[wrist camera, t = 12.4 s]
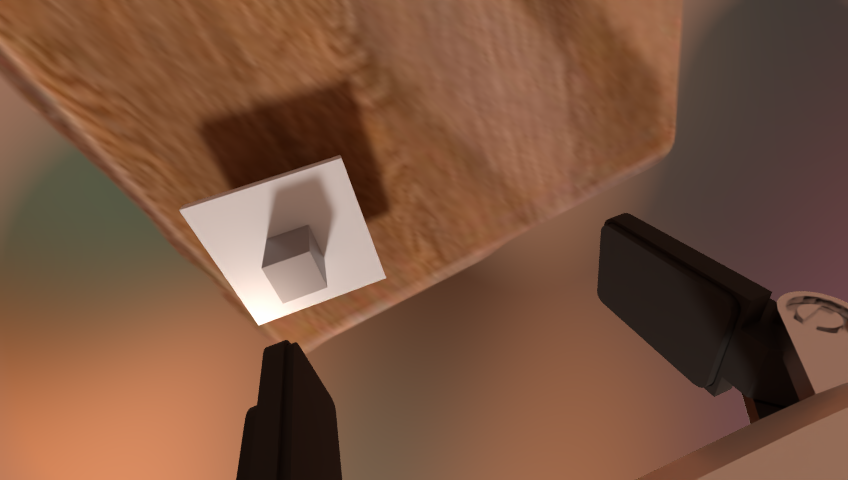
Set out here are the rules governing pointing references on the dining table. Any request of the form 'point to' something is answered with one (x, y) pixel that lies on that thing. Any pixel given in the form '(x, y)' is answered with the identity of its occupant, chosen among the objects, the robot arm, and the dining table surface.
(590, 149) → the dining table surface
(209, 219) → the lid
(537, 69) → the dining table surface
